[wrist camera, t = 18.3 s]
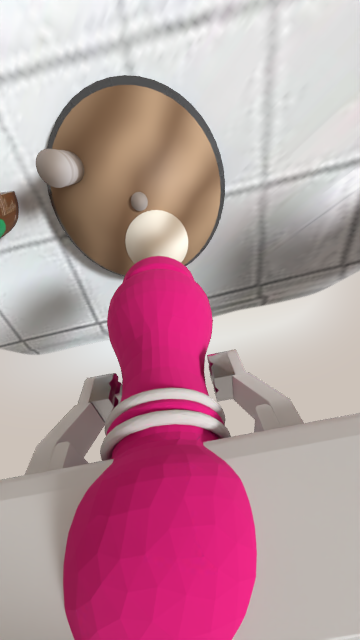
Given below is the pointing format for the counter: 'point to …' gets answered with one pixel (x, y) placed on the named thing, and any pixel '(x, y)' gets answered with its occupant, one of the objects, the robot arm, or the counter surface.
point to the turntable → (133, 178)
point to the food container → (8, 212)
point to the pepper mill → (161, 482)
